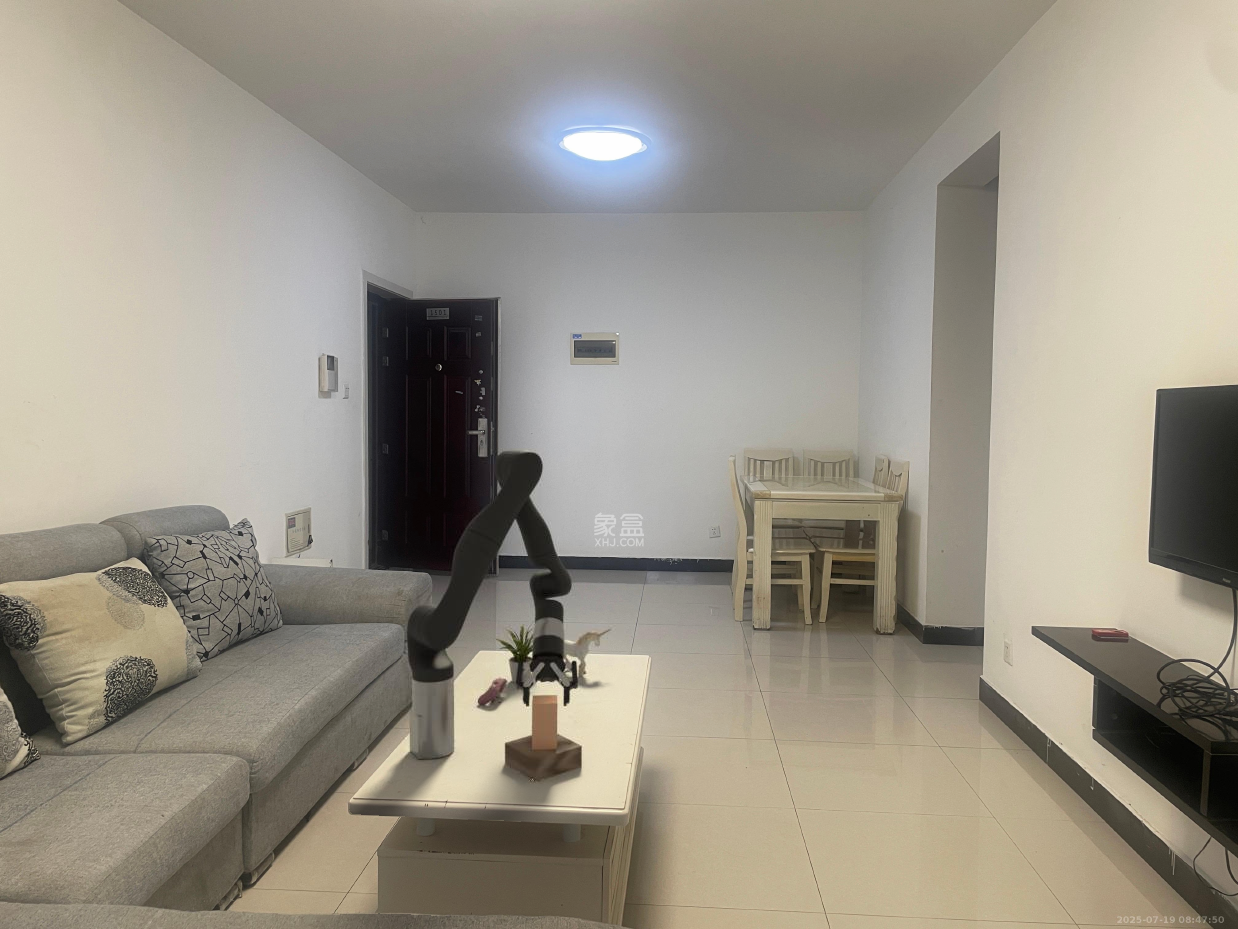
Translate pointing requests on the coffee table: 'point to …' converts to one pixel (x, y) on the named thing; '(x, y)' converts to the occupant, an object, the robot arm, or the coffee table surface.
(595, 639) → the unicorn figurine
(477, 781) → the coffee table surface
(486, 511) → the robot arm
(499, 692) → the pink rounded piece
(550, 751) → the walnut block
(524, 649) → the house plant
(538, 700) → the peach block
